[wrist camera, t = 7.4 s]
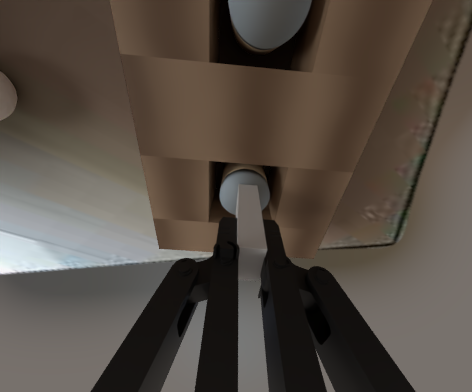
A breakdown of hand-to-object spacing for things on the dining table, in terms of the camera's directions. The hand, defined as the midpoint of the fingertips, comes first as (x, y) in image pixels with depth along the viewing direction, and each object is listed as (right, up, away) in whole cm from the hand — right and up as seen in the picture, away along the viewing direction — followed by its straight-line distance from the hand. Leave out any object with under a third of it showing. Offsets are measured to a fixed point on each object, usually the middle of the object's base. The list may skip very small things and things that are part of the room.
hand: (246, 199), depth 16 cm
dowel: (0, +3, +5) cm, 6 cm away
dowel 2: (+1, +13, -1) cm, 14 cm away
